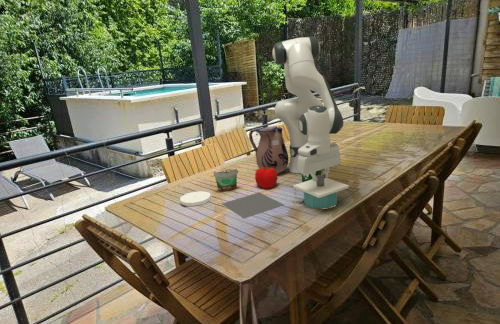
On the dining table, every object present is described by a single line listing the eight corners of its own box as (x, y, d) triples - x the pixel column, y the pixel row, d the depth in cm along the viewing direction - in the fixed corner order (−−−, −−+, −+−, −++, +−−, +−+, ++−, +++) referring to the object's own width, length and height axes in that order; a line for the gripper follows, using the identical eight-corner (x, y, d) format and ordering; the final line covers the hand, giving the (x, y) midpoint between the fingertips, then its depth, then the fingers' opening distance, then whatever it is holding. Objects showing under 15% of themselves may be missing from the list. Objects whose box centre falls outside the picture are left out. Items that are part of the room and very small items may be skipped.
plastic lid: (174, 203, 160) (174, 198, 159) (199, 194, 169) (198, 189, 168) (192, 210, 150) (191, 205, 149) (217, 200, 159) (216, 195, 158)
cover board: (321, 178, 154) (321, 167, 152) (348, 187, 140) (348, 176, 139) (293, 187, 146) (292, 176, 145) (319, 197, 133) (318, 185, 131)
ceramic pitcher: (287, 177, 181) (284, 130, 175) (248, 177, 186) (244, 132, 179) (290, 167, 198) (288, 124, 191) (254, 167, 202) (251, 125, 196)
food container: (217, 194, 165) (215, 174, 163) (215, 190, 171) (212, 171, 168) (242, 190, 168) (240, 170, 165) (239, 186, 174) (237, 167, 171)
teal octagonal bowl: (321, 194, 154) (321, 180, 152) (343, 203, 143) (343, 187, 141) (298, 202, 147) (298, 187, 145) (319, 212, 136) (319, 196, 134)
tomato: (260, 192, 163) (258, 172, 160) (252, 184, 175) (251, 165, 172) (282, 188, 166) (281, 168, 163) (273, 180, 177) (272, 161, 175)
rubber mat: (259, 193, 162) (259, 192, 162) (284, 205, 145) (284, 204, 145) (221, 204, 153) (221, 203, 152) (244, 219, 136) (243, 218, 136)
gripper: (332, 141, 146) (333, 172, 150) (294, 150, 136) (296, 183, 140) (343, 143, 141) (344, 175, 145) (304, 153, 131) (306, 187, 135)
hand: (320, 179), depth 142 cm, fingers open, 4 cm apart
